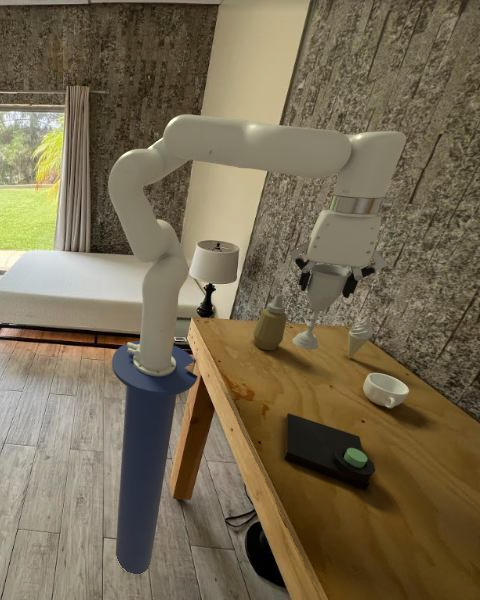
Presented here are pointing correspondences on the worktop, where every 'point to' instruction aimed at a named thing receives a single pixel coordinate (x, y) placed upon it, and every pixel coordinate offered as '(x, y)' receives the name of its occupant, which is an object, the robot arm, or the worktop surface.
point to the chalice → (321, 298)
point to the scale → (324, 451)
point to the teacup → (385, 390)
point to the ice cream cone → (359, 336)
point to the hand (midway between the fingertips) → (323, 291)
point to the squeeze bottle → (271, 325)
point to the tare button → (355, 457)
